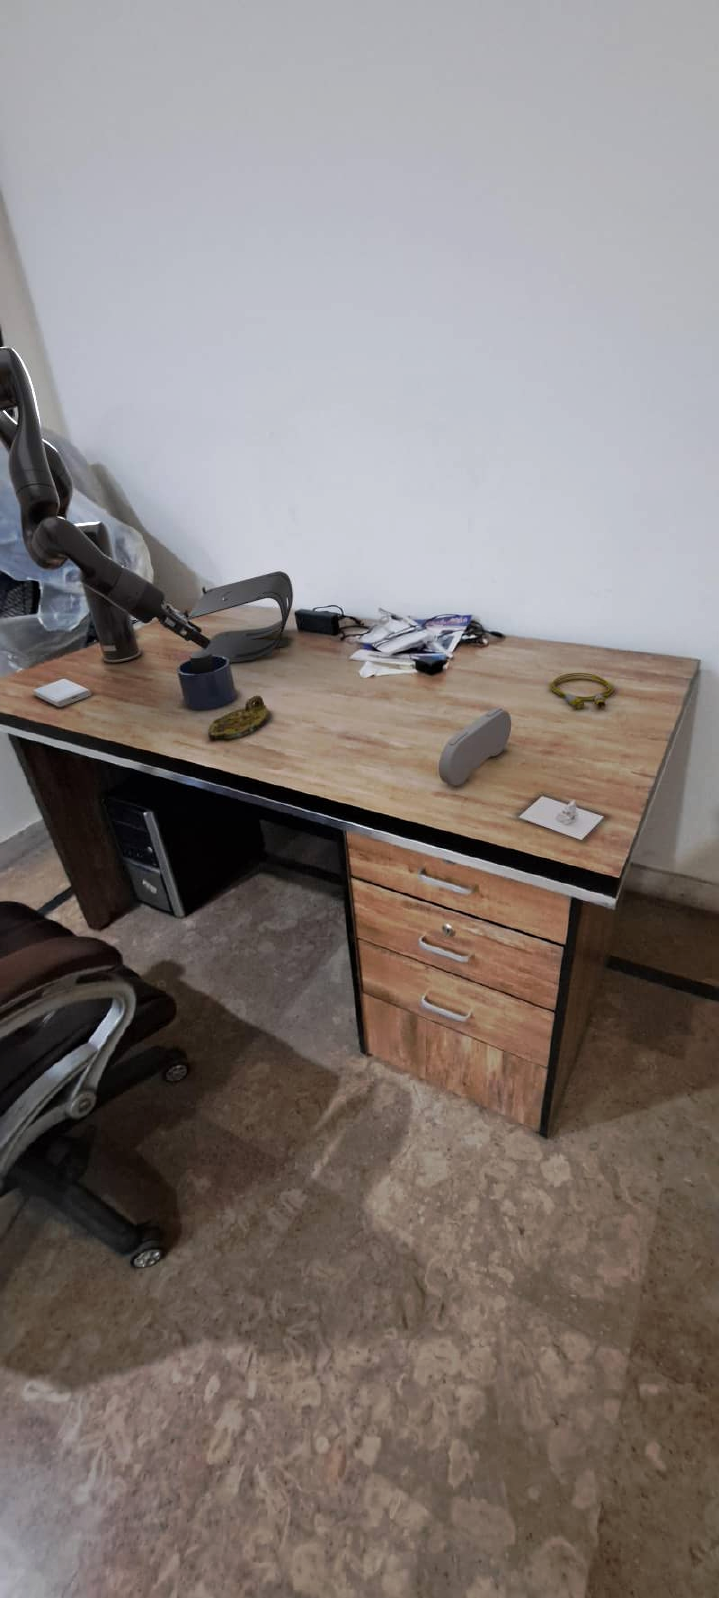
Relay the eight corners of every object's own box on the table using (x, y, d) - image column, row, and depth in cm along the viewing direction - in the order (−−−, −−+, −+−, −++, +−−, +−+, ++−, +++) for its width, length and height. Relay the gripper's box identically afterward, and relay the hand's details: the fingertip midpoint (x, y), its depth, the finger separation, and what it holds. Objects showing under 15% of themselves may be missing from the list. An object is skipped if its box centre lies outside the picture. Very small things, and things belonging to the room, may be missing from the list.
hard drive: (32, 689, 158) (56, 701, 151) (65, 677, 163) (89, 688, 155) (34, 696, 159) (59, 708, 151) (67, 684, 164) (92, 695, 156)
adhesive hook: (570, 827, 97) (572, 809, 96) (553, 821, 99) (555, 803, 97) (580, 817, 99) (582, 800, 97) (563, 812, 101) (565, 794, 99)
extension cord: (538, 705, 132) (539, 695, 131) (560, 675, 143) (560, 666, 142) (602, 713, 127) (603, 704, 126) (619, 682, 138) (621, 672, 137)
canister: (197, 696, 149) (187, 653, 144) (217, 691, 150) (208, 648, 145) (202, 703, 145) (191, 659, 140) (222, 698, 147) (213, 654, 141)
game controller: (499, 742, 121) (500, 699, 116) (510, 745, 119) (512, 702, 115) (437, 790, 109) (436, 745, 104) (449, 794, 107) (448, 748, 103)
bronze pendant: (229, 751, 129) (281, 719, 138) (226, 729, 126) (280, 698, 136) (195, 736, 133) (248, 706, 143) (192, 715, 130) (246, 686, 140)
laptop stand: (288, 659, 165) (279, 596, 157) (193, 667, 166) (179, 604, 158) (298, 626, 187) (290, 569, 178) (214, 632, 188) (202, 576, 180)
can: (180, 696, 151) (172, 662, 147) (229, 684, 155) (222, 651, 150) (190, 714, 142) (182, 679, 138) (241, 701, 146) (235, 666, 141)
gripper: (150, 586, 126) (221, 633, 135) (139, 571, 137) (205, 615, 147) (128, 620, 127) (201, 664, 137) (119, 602, 138) (187, 644, 148)
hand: (203, 638), depth 142 cm, fingers open, 8 cm apart
